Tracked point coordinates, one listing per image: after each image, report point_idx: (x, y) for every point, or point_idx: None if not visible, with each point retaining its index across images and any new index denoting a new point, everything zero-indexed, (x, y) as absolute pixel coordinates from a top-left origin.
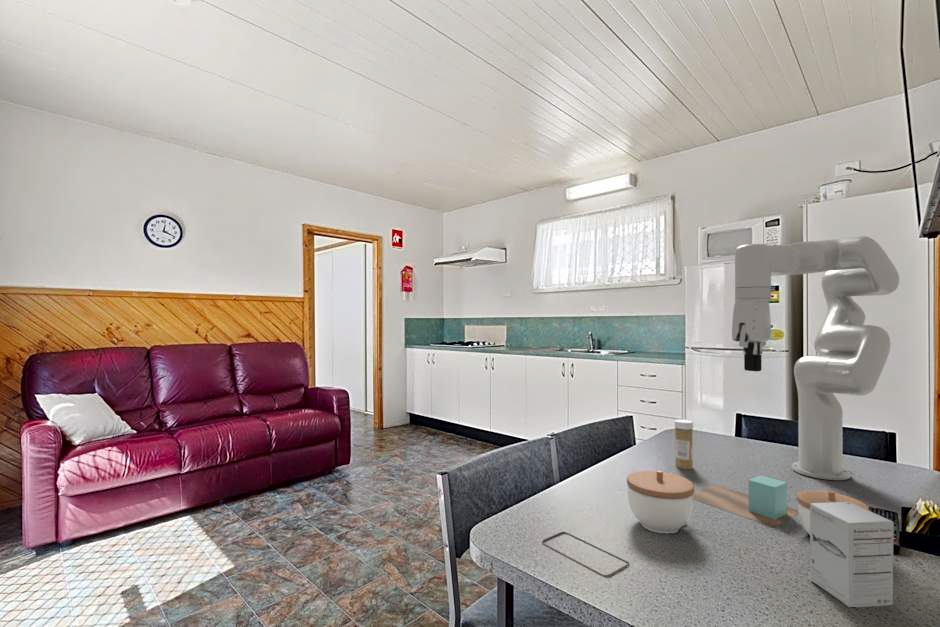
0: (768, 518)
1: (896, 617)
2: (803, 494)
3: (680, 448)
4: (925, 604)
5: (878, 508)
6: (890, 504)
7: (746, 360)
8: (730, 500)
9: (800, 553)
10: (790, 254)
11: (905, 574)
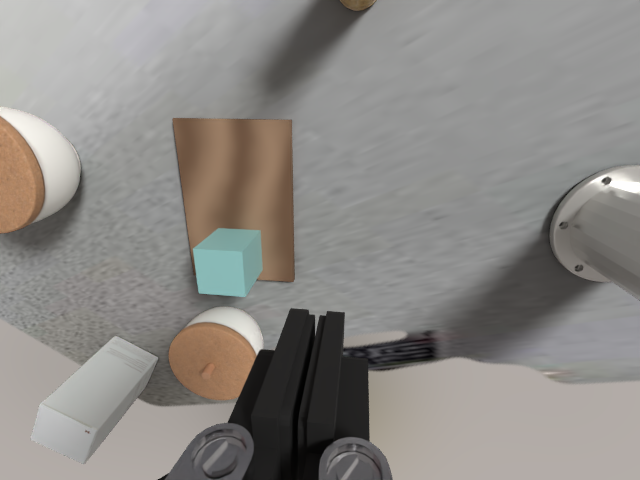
0: None
1: None
2: (196, 335)
3: None
4: (174, 402)
5: (433, 340)
6: (473, 349)
7: (245, 386)
8: (234, 187)
9: (166, 312)
10: None
11: None
